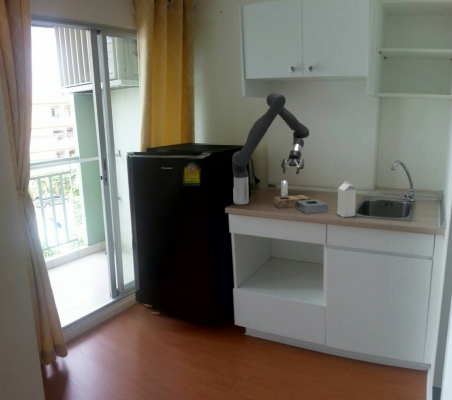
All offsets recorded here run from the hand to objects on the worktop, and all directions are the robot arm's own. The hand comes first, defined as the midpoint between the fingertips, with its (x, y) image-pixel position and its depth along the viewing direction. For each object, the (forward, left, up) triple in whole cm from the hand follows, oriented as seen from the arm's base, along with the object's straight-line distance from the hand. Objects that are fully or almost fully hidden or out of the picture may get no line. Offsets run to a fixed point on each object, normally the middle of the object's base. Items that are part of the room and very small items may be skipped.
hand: (290, 173), depth 261 cm
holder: (+5, -23, -19) cm, 30 cm away
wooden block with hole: (-2, -9, -19) cm, 21 cm away
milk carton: (+18, -40, -19) cm, 48 cm away
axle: (-7, -9, -19) cm, 22 cm away
